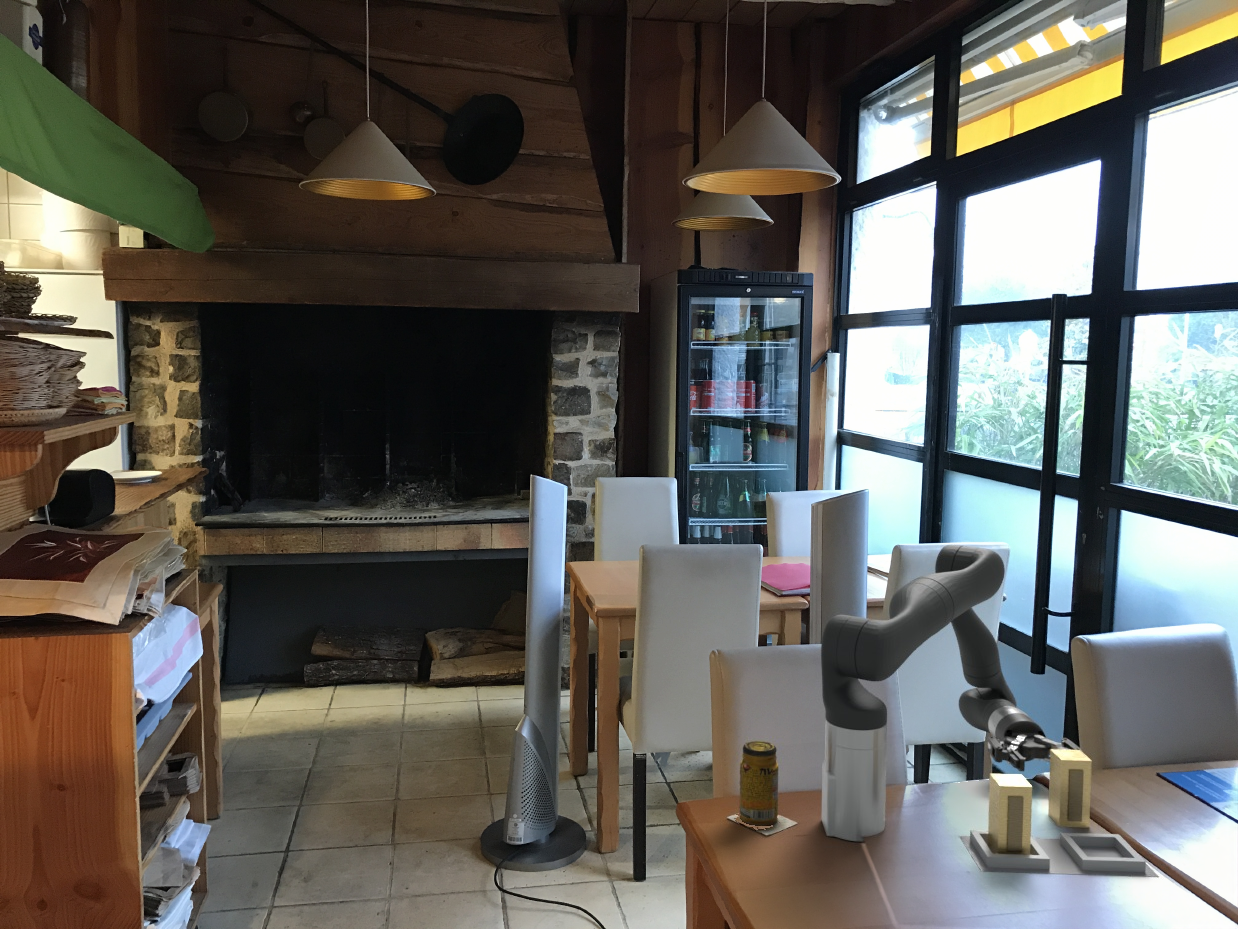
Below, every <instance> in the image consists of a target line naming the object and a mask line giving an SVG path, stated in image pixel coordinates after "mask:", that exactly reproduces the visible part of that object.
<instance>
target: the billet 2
mask: <svg viewBox="0 0 1238 929" xmlns="http://www.w3.org/2000/svg"><path fill="white" fill-rule="evenodd" d="M1049 757H1050V762H1049V779H1048V780H1049V782H1048V784H1049V786H1048V789H1049V790H1048V812H1047V814H1048V815H1049V817H1050V818H1051V819H1052V821H1054V823H1055V825H1057V826H1058V827H1059V828H1083V829H1084V828H1089V829H1090V818H1091V816H1090V814H1091V789H1092V788H1091V787H1092V759H1091V758H1089V757H1088V756H1087V755H1086V754H1085V753H1084V752H1083V750H1082V751H1080V750H1059V749H1050V756H1049Z"/></svg>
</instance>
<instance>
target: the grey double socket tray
mask: <svg viewBox="0 0 1238 929" xmlns="http://www.w3.org/2000/svg"><path fill="white" fill-rule="evenodd" d="M969 832H970V833H969V835H959V838H960V840H961V842H962V843H963V845H964V846H965V848H966V850H967V852H968V853H969V855H970V856H971V858H972V859H973V861H974V862H975V864H976V865H977V868H978V869H979V870H980V872H982V873H987V872H988V873H1012V874H1013V873H1014V874H1015V873H1016V874H1047V875H1049V874H1050V875H1078V876H1079V875H1080V876H1081V875H1082V876H1109V877H1139V878H1140V877H1143V878H1146V877H1147V878H1159V877H1160V876H1159V875H1158V874H1157V873H1156V872H1155V871H1154V870H1153V869H1152V868H1151V867H1150V866H1149V865H1148V864H1147V862H1146V860H1145V859H1144V858H1143V857H1142V856H1141V855H1140V854H1139V853H1138V852H1137V851H1136V850H1135V849H1134V848H1133V847H1132V846H1131V845H1130V844H1129V843H1128V842H1127V841H1126V839H1124V838H1123V837H1122V836H1121V835H1120V834H1118V833H1090V832H1089V833H1084V832H1083V833H1082V832H1081V833H1080V832H1059V838H1050V837H1049V838H1048V837H1047V838H1046V837H1043V838H1041V837H1033V835H1032V834H1031V844H1030V855H1015V854H993V853H992V852H991V850H990V849H989V847H988V830H977V829H975V830H974V829H971V830H969Z"/></svg>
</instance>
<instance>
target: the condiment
mask: <svg viewBox="0 0 1238 929" xmlns="http://www.w3.org/2000/svg"><path fill="white" fill-rule="evenodd" d="M777 750H778V749H777V747H776V745H775V744H773V743H771V742H768V741H763V740H753V741H748V742H745V744H743V746H742V760H741V761H740V764H739V807H738V808H739V813H740V819H741V820H742V822H744V823H746V824H749V825H755V826H771V825H773V827H770V828H765V829H766V830H764V829H758V830H756V832H757V833H762V834H763V835H765V836H770V835H774V834H776V833H779V832H781V831H783V830H787V828H790V827H793V826H795V825H797V824H798V822H796V821H795V820H791V819H789V818H788V817H785V816H783V815H781V814H779V812H778V811H779V763H778V762H777V757H778V756H777ZM736 814H737V813H735V814H732V815H730V816H727V817H726V818H727V819H729V820H731V821H733V822H734V823H737V824H739V823H738V822H736V821H735V820H736V819H734V818H737V817H739V816H738V815H736ZM777 818H778V819H777ZM737 821H739V820H737ZM778 821H779V822H780V823H779V822H778ZM748 828H750V829H751V830H753V831H755V830H754V828H753V827H748Z"/></svg>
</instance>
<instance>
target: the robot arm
mask: <svg viewBox="0 0 1238 929" xmlns="http://www.w3.org/2000/svg"><path fill="white" fill-rule="evenodd" d="M1005 569H1006V568H1005V564H1004V561H1003V558H1002V557H1001V556H1000V554H998V553H997V552H996V551H994V550H991V549H989V548H986V547H985V548H984V547H977V546H968V545H960V544H948V545H945V546H943V547H942V548H941V549H940V551H939V552H938V555H937V557H936V560H935V566H934V573H931V574H925V575H922V576H919V577H917V578H914V579H913V580H910V581H909V582H908V583H906V584H904V585H903V586H901V587H900V588H899V589H898V590H897V591H896V592H895V593H894V594H893V595H892V597H891V600H890V602H889V608H888V614H889V619H886V620H885V619H884V620H881V619H873V618H866V617H861V616H854V615H847V614H837V615H834V616H832V617H831V618H830V619H829V620H828V621H827V623H826V625H825V627H824V629H823V632H822V636H821V638H822V639H821V644H820V646H821V647H820V657H821V658H820V661H821V662H820V663H821V664H820V665H821V686H822V688H821V689H822V691H821V694H822V695H821V696H822V702H823V707H824V708H825V709H824V710H825V714H824V715H825V727H824V735H825V736H824V760H823V761H822V764H821V765H822V766H821V767H822V768H821V776H822V777H821V822H822V825H823V828H824V831H825V835H826V836H827V837H835V838H838V839H842V840H845V841H851V842H852V841H853V842H865V838H864V837H871V836H872V837H873V836H875V835H879V834H881V833H882V832H883V831H885V827H886V792H887V791H886V790H887V789H886V787H887V786H886V782H887V779H886V777H887V773H886V772H887V737H888V736H887V734H888V733H887V732H888V707H887V706H886V704H885V702H884V701H883V700H882V699H880V698H879V697H877V696H876V695H874V694H873V693H871V692H870V691H869V690H867V688H865V687H864V685H863V684H862V683H861V682H860V680H863V681H867V682H883V681H885V680H887V679H889V678H890V677H891V676H892V675H895V674H894V673H896V671H898V670H899V669H900V667H901V666H902V665H903V664H904V663H905V662H906V661H907V659H908V658H909V657H910V656H912V654H913V653H914V652H915V651H916V650H917V649H919V647H921V646H922V645H923V644H924V643H925V642H927V641H928V640H929V639H930V638H931V637H933V636H934V635H936V634H938V633H939V632H940V631H941V630H943V629H944V628H945V627H947V626H949V624H951V627H952V630H953V631H954V634H955V638H956V641H957V645H958V650H959V656H960V661H961V667H962V674H963V676H964V679H965V681H966V682H967V684H969V685H970V686H972V687H973V688H971V689H967V690H965V691H963V692H962V693H961V694H960V696H959V699H958V709H959V712H960V715H961V716H962V717H963V719H964V720H965V721H966V723H968V724H969V725H970V727H971V726H972V727H973V728H974V729H977V730H980V731H983V732H986V733H989V734H990V736H988V737H987V752H988V753H989V755H990V756H991V757H992V759H993V760H994V762H995V763H998V764H999V763H1000V764H1001V763H1002V762H1003V761H1005V762H1006V764H1008V765H1011V766H1012V768H1015V769H1017V771H1018V772H1025V766H1026V764H1025V763H1026V762H1031V761H1033V760H1036V761H1044V762H1047V763H1050V749H1059V750H1080V751H1082V752H1083V749H1082V748H1081V747H1079V746H1078V745H1077V744H1075V743H1074V742H1073V741H1072V740H1070V739H1068V738H1067V737H1063V738H1062V737H1061V740H1060V741H1061V742H1057V741H1054V740H1052V739H1050V738H1048V737H1047V736H1046V734H1045V732H1044V730H1043V729H1042V727H1041V725H1039V724H1038V723H1037V722H1035V720H1034V719H1032V718H1031V717H1030V716H1029V715H1028V714H1027V713H1026V712H1024V711H1023V710H1021V709H1019V708H1018V707H1017V699H1016V697H1015V696H1014V693H1013V692H1012V690H1011V689H1010V687H1009V685H1008V683H1007V681H1006V679H1005V676H1004V674H1003V671H1002V665H1001V659H1000V658H1001V657H1000V653H999V647H998V644H997V640H996V639H995V637H994V635H993V633H992V632H991V630H990V629H989V628H988V627H987V625H986V624H985V623H984V622H983V621H982V619H981V617H979V616H978V614H977V613H976V612H975V610H974V609H973V607H976V606H977V605H979V604H982V603H984V602H986V601H988V600H990V599H991V598H992V597H994V596H995V595H996V594H997V593H998V591H999V590H1000V588H1001V586H1002V584H1003V582H1004V578H1005V572H1006V571H1005Z"/></svg>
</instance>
